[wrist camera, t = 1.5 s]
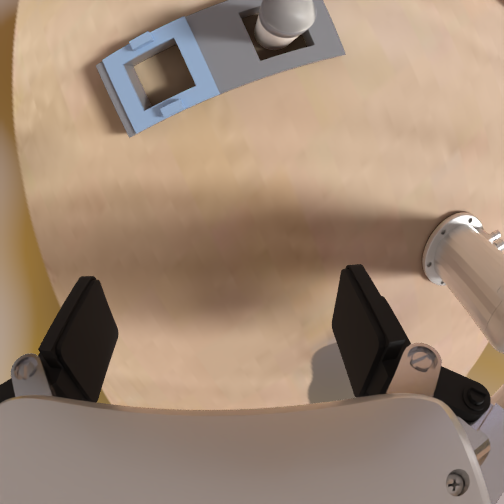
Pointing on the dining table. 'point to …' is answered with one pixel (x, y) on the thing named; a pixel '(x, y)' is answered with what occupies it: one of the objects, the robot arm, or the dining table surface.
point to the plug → (283, 22)
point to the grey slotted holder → (207, 59)
